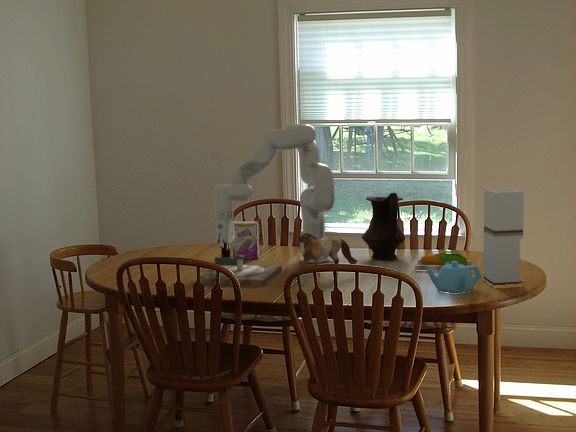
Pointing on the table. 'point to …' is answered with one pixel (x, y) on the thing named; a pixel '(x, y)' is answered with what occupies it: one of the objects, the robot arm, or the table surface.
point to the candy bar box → (246, 240)
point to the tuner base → (244, 275)
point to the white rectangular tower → (502, 236)
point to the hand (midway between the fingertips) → (226, 259)
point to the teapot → (455, 277)
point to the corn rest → (431, 266)
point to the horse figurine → (323, 250)
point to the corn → (444, 258)
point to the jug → (384, 228)
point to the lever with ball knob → (231, 261)
